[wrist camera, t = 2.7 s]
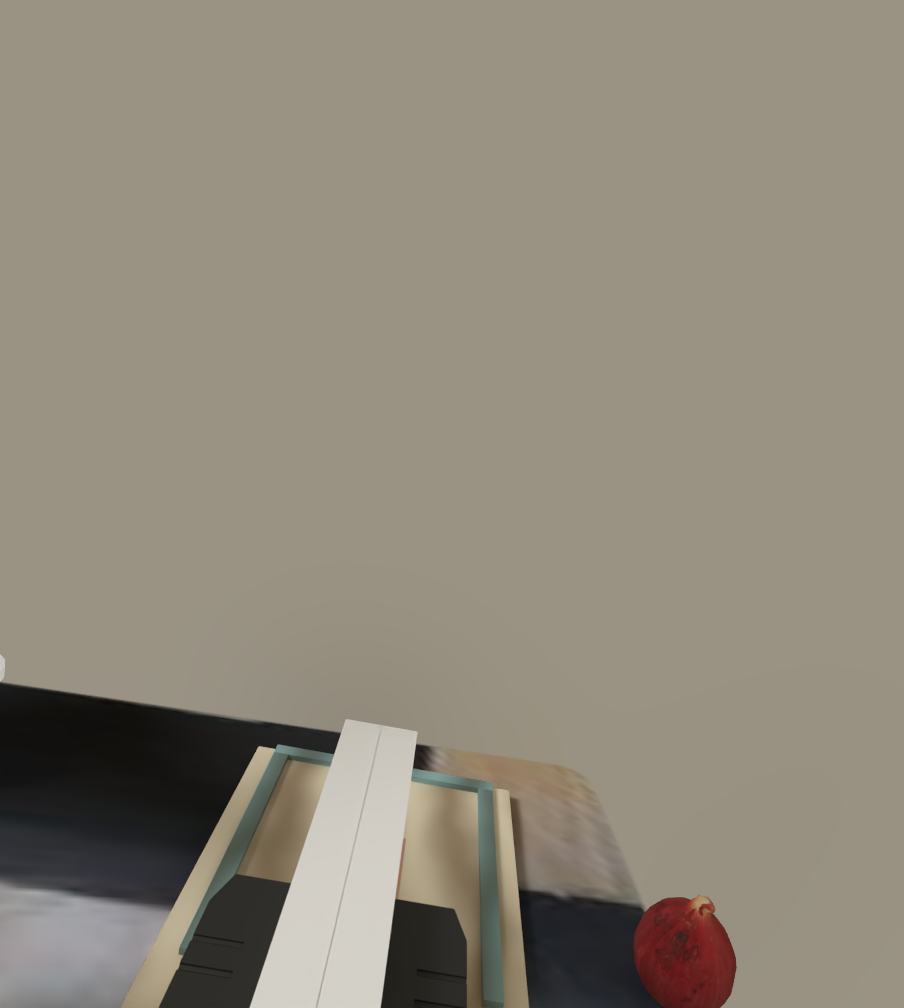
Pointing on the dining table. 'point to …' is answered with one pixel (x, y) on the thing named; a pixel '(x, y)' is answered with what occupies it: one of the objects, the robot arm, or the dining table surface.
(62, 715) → the dining table surface
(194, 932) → the robot arm
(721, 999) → the red pomegranate
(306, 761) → the board
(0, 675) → the beverage cup
